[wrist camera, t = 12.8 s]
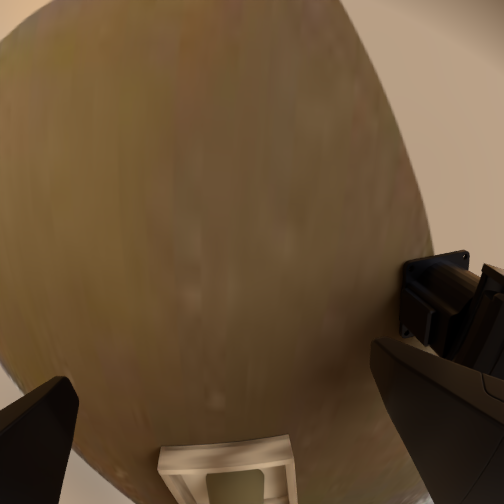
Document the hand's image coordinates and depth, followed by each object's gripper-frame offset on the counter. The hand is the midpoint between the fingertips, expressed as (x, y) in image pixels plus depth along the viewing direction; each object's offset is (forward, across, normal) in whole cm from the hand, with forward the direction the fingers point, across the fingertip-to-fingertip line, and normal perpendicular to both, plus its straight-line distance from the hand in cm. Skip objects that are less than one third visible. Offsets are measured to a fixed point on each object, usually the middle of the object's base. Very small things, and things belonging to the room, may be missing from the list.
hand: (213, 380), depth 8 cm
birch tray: (+13, +3, +24) cm, 27 cm away
